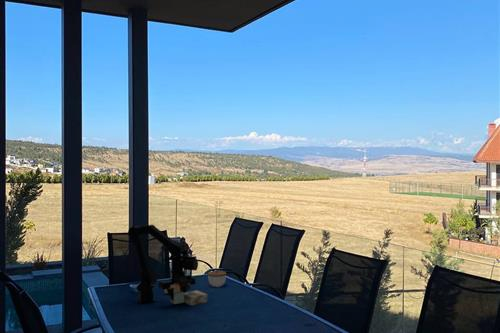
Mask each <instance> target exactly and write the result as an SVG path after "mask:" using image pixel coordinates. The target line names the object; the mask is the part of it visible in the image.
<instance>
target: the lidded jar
mask: <svg viewBox="0 0 500 333" xmlns="http://www.w3.org/2000/svg"><path fill="white" fill-rule="evenodd" d="M207 278H208V283H209V284H210V285H211V287H213V288H221V286H222V287H223V286H224V285H225V283H226V281H227V272H226V271H223V270H219V269H216V270H212V271H208V273H207Z"/></svg>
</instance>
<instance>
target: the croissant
mask: <svg viewBox="0 0 500 333" xmlns="http://www.w3.org/2000/svg"><path fill="white" fill-rule="evenodd" d="M189 285H190V284H189ZM190 286H191V285H190ZM173 288H174V291H180V286H179V285H173ZM163 290H164V294H167V295H169V293H168V291H167V289H163ZM187 290H188V288H187V289H186V291H187Z"/></svg>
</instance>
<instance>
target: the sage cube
mask: <svg viewBox="0 0 500 333" xmlns="http://www.w3.org/2000/svg"><path fill="white" fill-rule="evenodd" d="M173 297H174V298H173V301H172V300H171V298H169V300H170V301H169V302H170V303H171V304H173V305H177V304H183V303H184V292H182V291H173Z"/></svg>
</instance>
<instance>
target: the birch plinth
mask: <svg viewBox="0 0 500 333" xmlns="http://www.w3.org/2000/svg"><path fill="white" fill-rule="evenodd" d="M183 303H185V304H186V305H189V306H195V305H200V304H205V303H208V293H206V292H203V291H200V290H191V291H187V292H186V291H185V294H184V302H183Z"/></svg>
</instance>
